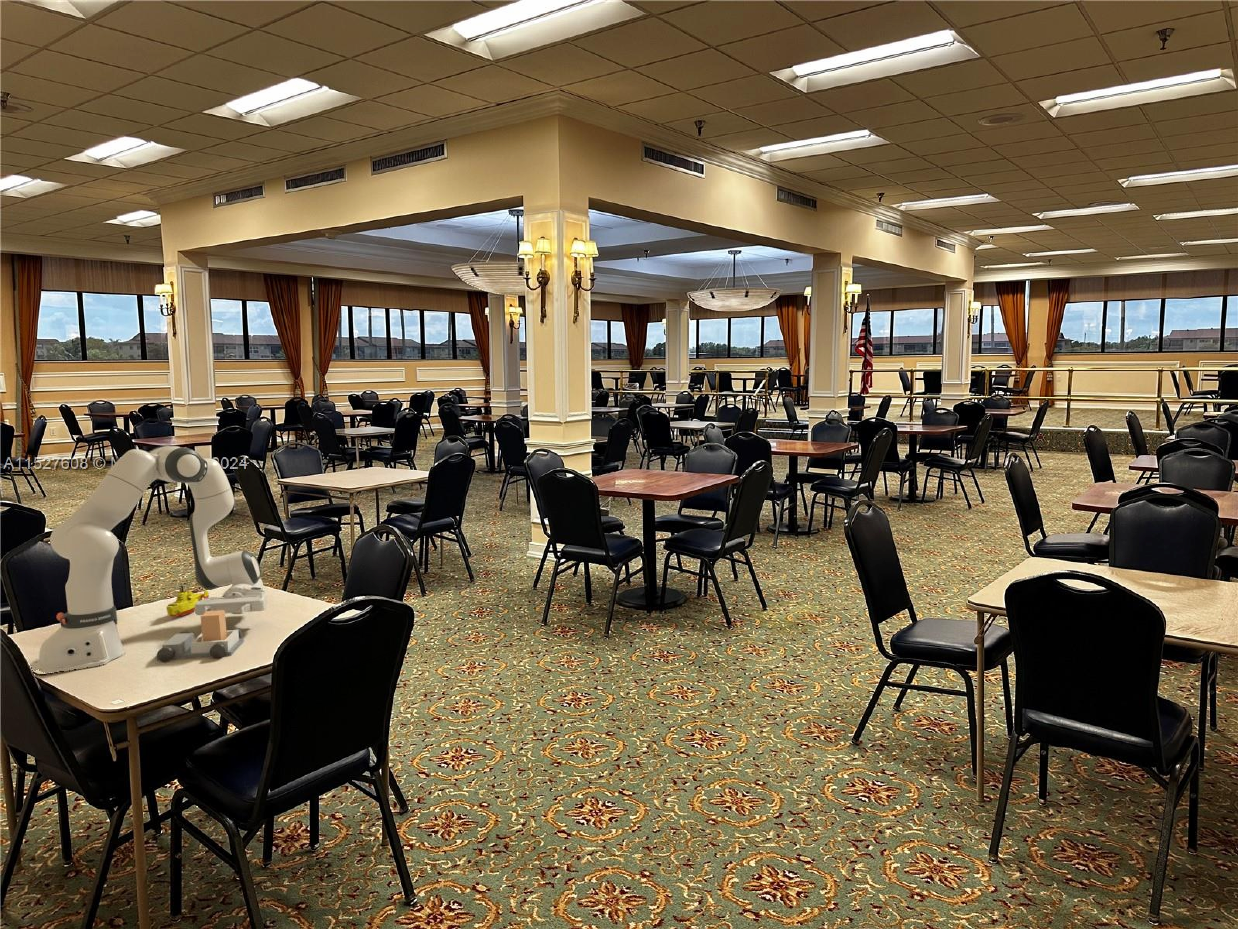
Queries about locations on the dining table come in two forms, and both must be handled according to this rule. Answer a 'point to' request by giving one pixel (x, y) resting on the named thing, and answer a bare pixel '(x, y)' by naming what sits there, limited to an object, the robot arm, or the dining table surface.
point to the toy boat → (185, 602)
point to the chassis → (199, 646)
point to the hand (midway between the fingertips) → (223, 612)
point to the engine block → (213, 625)
